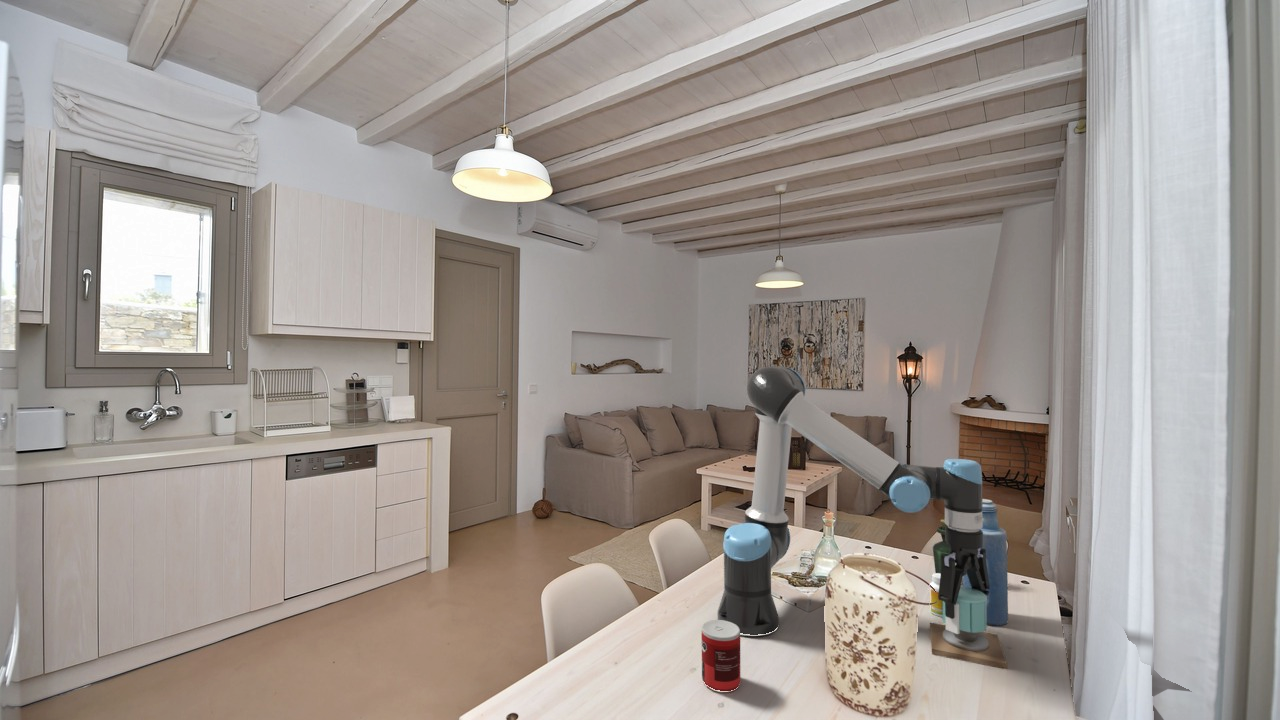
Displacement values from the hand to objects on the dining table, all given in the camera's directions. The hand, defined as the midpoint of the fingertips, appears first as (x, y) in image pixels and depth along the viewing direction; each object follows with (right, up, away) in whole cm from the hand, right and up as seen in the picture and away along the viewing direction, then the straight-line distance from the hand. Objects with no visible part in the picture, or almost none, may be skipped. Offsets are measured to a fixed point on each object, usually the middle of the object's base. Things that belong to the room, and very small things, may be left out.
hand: (965, 626), depth 125 cm
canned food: (-58, -5, -14) cm, 60 cm away
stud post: (0, -5, 0) cm, 5 cm away
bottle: (+14, -5, +14) cm, 21 cm away
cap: (0, +1, 0) cm, 1 cm away
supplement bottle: (+4, -5, +17) cm, 18 cm away
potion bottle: (+18, -5, +38) cm, 42 cm away
